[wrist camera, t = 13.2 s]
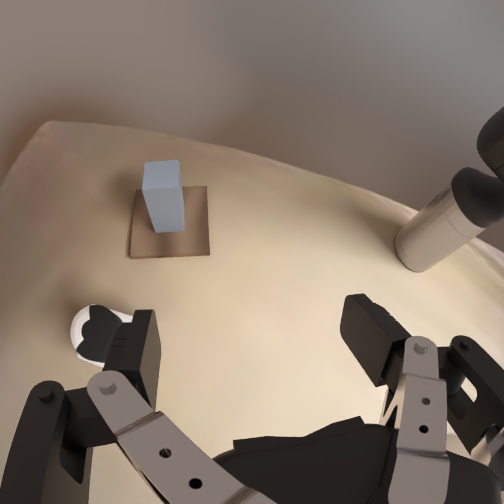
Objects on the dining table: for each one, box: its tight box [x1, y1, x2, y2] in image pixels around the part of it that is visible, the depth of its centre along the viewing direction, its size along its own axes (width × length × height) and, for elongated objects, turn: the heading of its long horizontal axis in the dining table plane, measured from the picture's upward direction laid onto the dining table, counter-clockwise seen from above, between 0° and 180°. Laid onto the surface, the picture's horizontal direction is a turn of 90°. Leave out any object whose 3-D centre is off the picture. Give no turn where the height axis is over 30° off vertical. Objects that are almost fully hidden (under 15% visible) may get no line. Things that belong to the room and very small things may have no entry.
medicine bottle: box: [70, 304, 133, 368], centre depth 31 cm, size 7×7×12 cm
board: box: [130, 186, 210, 259], centre depth 45 cm, size 12×12×1 cm
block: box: [142, 160, 184, 233], centre depth 39 cm, size 4×4×11 cm
